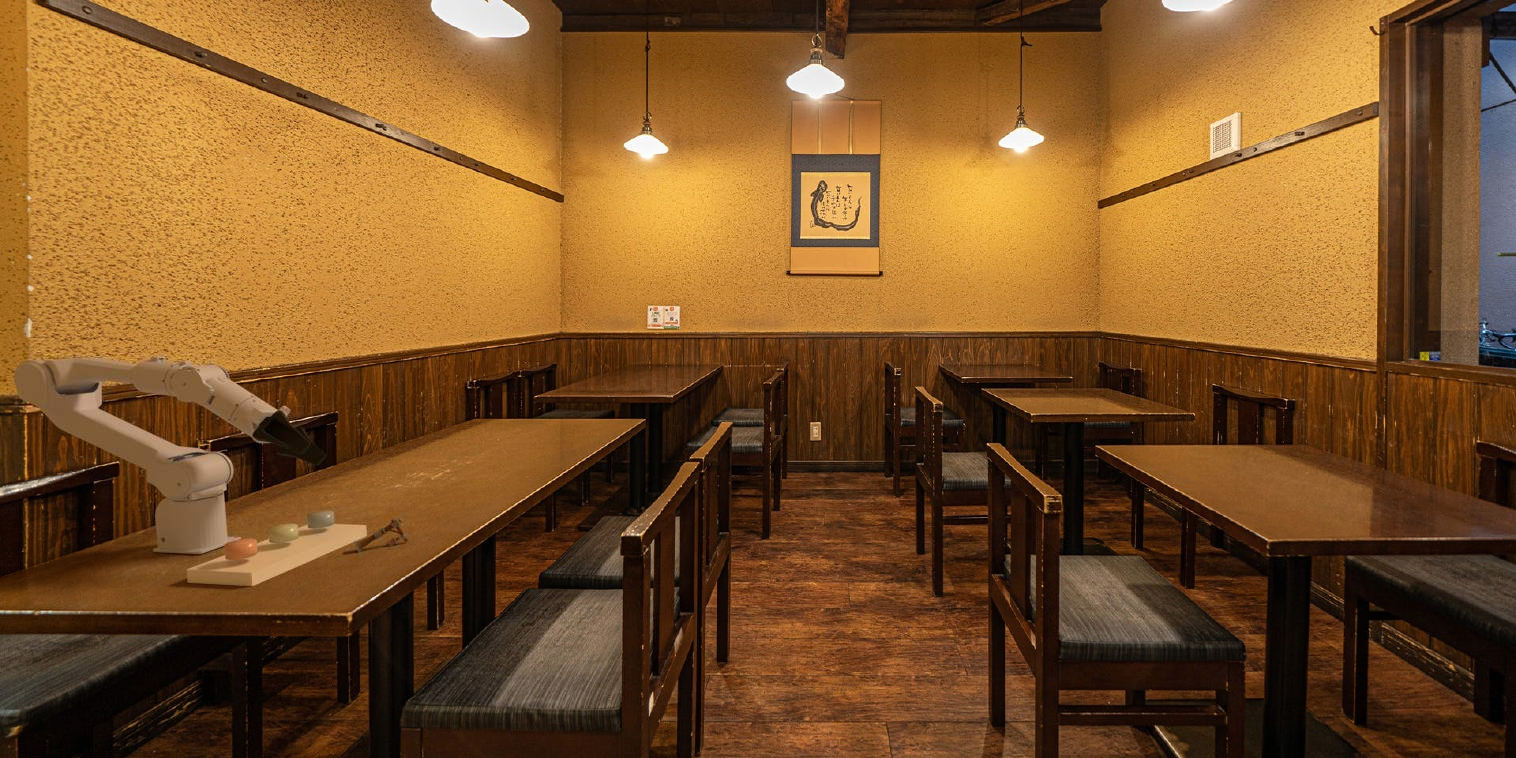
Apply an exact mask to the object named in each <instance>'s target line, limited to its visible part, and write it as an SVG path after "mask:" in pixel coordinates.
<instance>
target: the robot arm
mask: <svg viewBox="0 0 1516 758" xmlns="http://www.w3.org/2000/svg"><path fill="white" fill-rule="evenodd" d="M13 381H14V386H15V388H16V392H17V395H18V398H19V399H21V400H22V401H25V402H27V403H29V404H31V405H33V406H34V407H35V406H36V407H37V408H38V409H39V410H40V411H41V412H42V413H43V414H44V415H45V416H46V417H47V419H49V420H50V421H51V423H53V424H54V425H55V426H56V427H57V428H58V429H60V430H62V431H63V432H65V433H67V434H70V435H71V436H74V437H76V438H77V439H80V440H83V441H85V442H87V443H88V444H91V445H93V446H95V447H97V448H100V449H101V450H103V451H106V452H108V453H110V454H112V455H114V456H116V457H118V458H121V459H122V460H125V461H126V462H129V463H131V464H134V465H136V466H138V467H139V468H141V469H144V470H146V471H147V472H146V482H147V483H149V484H151V485H153V486H154V487H156V488H157V489H158V491H159V492H160V493H161V494H162V496H164V497H165V498H164V499H162V500H161V501H160V502H159V503H158V505H157V507H156V509H155V513H154V518H155V529H156V541H157V547H156V548H155V547H154V548H153V549H152V552H154V553H169V554H189V555H190V554H192V555H201V554H206V553H207V552H211V551H214V550H216V549H219V548H222V547H224V545H225V544H226V543H228V542H231V541H235V540H240V539H242V537H240V536H228V530H227V529H228V527H227V525H228V524H227V515H226V514H227V513H226V502H225V493H224V492H225V491H227V490H228V489H227V485H228V484H229V483H230V482H231V480H232V479H233V475H234V465H233V463H232V460H231V459H230V458H229V457H228V456H227V455H225V453H222V452H219V451H206V450H204V449H201V448H198V447H189V446H179V445H176V444H174V443H172V442H170V441H168V440H165V439H163V438H162V437H160V436H157V435H155V434H153V433H151V432H149V431H147V430H144V429H142V428H141V427H138V426H136V425H134V424H132V423H130V422H128V421H125V420H124V419H122V418H119V417H117V416H115V415H114V414H111V413H108V412H106V411H104V410H102V409H100V407H101V406H102V404H103V394H102V393H103V391H102V388H103V387H102V383H105V382H112V383H124V384H125V383H126V384H133V386H134V387H135V389H136V390H138V391H139V392H142V393H147V394H155V395H161V396H168V397H169V396H170V397H176V399H177V401H180V402H181V403H195V404H197V405H199V406H201V407H204V408H205V409H207V410H208V411H210V412H212V413H213V414H215V415H216V416H218V417H219V418H221V419H222V420H224V421H226V422H227V423H228V424H230V425H232V426H233V427H235V428H237V429H238V430H239V431H241V432H243V433H244V434H246V435H248V436H249V437H251V438H252V440H253V441H255V442H256V443H258V444H274V445H277V446H280V448H279V449H278V450H277V451H276V454H277V455H279V456H283V457H289V458H294V459H298V460H301V461H304V462H306V463H309V464H311V465H314V466H320V465H321V463H322V462H323V461H324V460H325V459H326V458H327V455H326V454H325V452H324V451H323V450H321V449H320V448H319V446H317V445H316V444H315V443H314V441H312V439H310V437H309V436H308V434H307V432H306V430H305V428H303V427H302V426H301V425H297V427H296V428H295V427H294V425H293V424H292V423H291V422H290V420H289V419H288V415H289V414H290V413H291V409H290V408H289V407H287V406H286V405H282V406H281V407H280V408H279V409H278V408H275V407H274V406H272V405H271V404H269V403H267V402H266V401H264V400H262V399H261V398H260V397H258V396H257V395H255V394H254V393H251V392H250V391H249V390H247V389H245V388H244V387H243V386H241V385H239V384H237V383H236V382H234V381H232V380H231V378H230V375H229V373H228V371H227V370H226V369H225V368H224V367H222V366H220V365H218V364H215V363H212V362H211V363H210V362H209V363H205V364H201V365H200V364H198V365H195V364H193V362H192V361H191V360H181V361H180V362H178V361H171V360H166V356H161V355H159V356H158V355H157V356H155V355H154V356H150V358H146V359H143V360H141V361H140V362H138V363H131V362H125V361H121V360H114V359H109V358H102V357H97V356H96V357H94V356H93V357H86V356H78V357H77V356H76V357H73V358H60V359H45V360H36V359H28V360H24V361H22V362H21V363H19V364H18V365H17V366H16V369H15V371H14V375H13Z"/></svg>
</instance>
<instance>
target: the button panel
mask: <svg viewBox="0 0 1516 758" xmlns="http://www.w3.org/2000/svg"><path fill="white" fill-rule="evenodd" d="M298 535H299V538H297V539H296V540H293V541H289V542H284V543H270V542H269V538H267V539H265V540H261V541H260V542H257V551H258V553H257V554H256V555H254V556H252V557H249V558H245V559H238V560H227V559H225V554H224V555H222V556H219V557H216V558H213V559H212V560H208V561H206V562H203V563H200V564H197V565H195V566H193V567H189V568H187V569H186V578H187V583H190V584H202V585H203V584H206V585H222V586H239V587H240V586H241V587H243V586H244V587H245V586H246V587H254V586H257V585H258V584H261V583H262V582H265V581H267V580H270V579H272V578H275V577H277V576H279V575H281V574H284V573H286V572H289V571H291V570H292V569H295V568H297V567H299V566H302V565H304V564H306V563H308V562H311V561H314V560H315V559H318V558H320V557H323V556H324V555H327V554H329V553H331V552H334V551H336V550H338V549H341V548H343V547H346V546H347V545H349V544H352V543H353V542H354V541H357V542H358V541H360V540H361V539H365V538H367V536H368V531H367V524H347V523H346V524H343V523H342V524H341V523H335V524H334V525H331V526H328V527H324V528H308V523H307V524H305V525H302V526H298Z"/></svg>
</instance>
